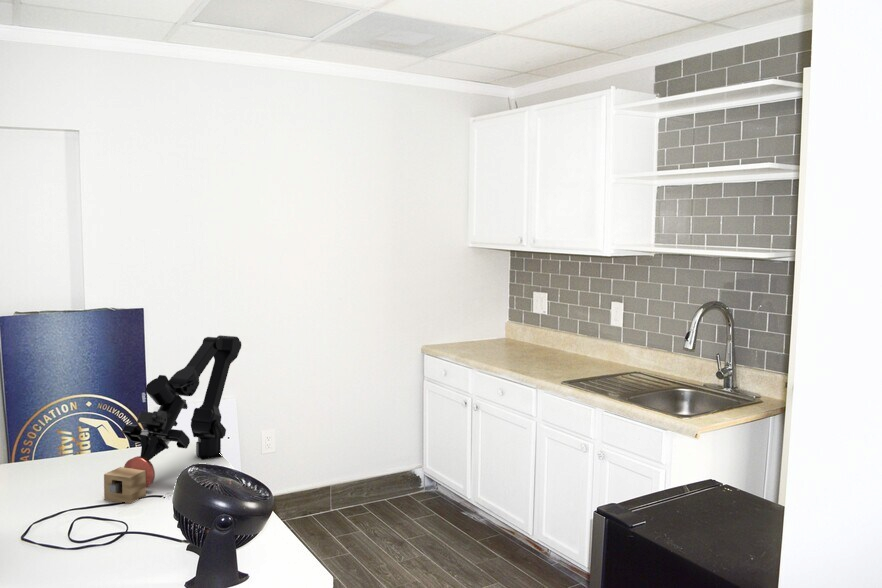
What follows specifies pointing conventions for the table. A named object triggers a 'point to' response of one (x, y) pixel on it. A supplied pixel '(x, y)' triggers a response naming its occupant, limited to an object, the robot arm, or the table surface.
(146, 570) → the table surface
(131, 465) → the copper disc handle
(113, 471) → the tan block
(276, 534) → the table surface
